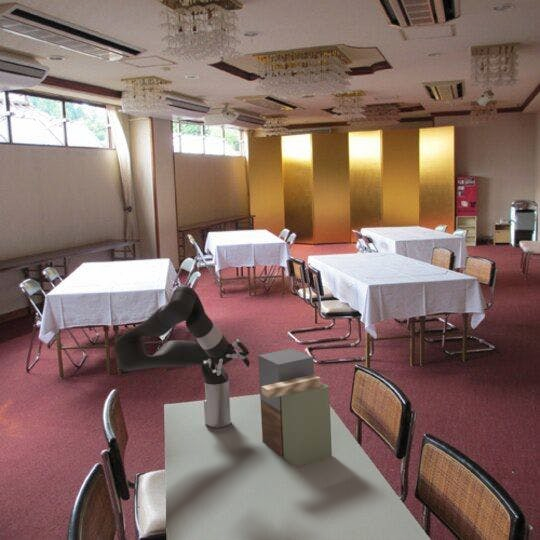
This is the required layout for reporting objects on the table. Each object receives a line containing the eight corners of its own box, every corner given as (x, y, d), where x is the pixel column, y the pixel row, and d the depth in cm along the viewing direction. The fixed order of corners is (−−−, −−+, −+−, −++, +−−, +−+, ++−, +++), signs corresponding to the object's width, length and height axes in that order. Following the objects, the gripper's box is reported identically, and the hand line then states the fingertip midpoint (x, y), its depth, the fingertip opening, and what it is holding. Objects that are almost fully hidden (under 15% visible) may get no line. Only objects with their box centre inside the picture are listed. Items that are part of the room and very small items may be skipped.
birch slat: (267, 399, 179) (267, 389, 179) (261, 395, 183) (261, 386, 182) (320, 386, 189) (320, 377, 188) (314, 383, 192) (313, 374, 192)
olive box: (296, 466, 184) (293, 395, 181) (283, 457, 191) (280, 388, 188) (331, 455, 191) (329, 386, 188) (318, 446, 198) (315, 380, 195)
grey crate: (280, 410, 190) (278, 364, 188) (260, 398, 202) (258, 355, 200) (315, 401, 197) (313, 357, 195) (294, 390, 209) (292, 348, 207)
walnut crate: (282, 456, 192) (280, 410, 190) (262, 441, 204) (260, 398, 202) (316, 445, 199) (315, 401, 197) (295, 432, 211) (294, 390, 209)
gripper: (193, 358, 173) (221, 391, 181) (233, 332, 173) (258, 366, 181) (189, 345, 179) (216, 377, 187) (227, 320, 179) (252, 353, 187)
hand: (237, 372), depth 184 cm, fingers open, 8 cm apart
